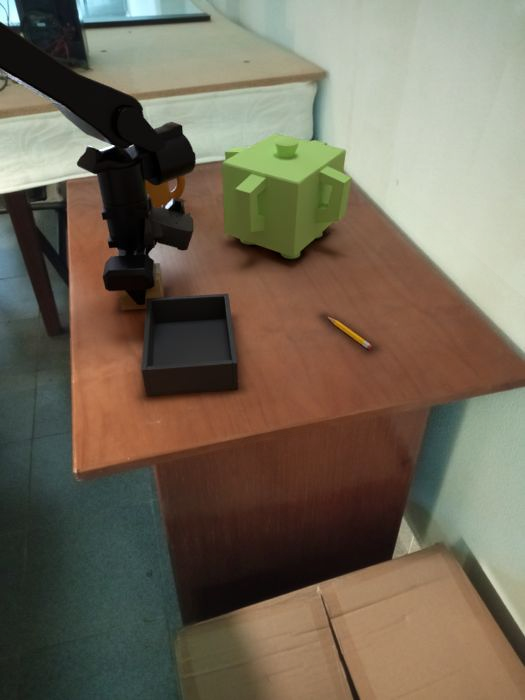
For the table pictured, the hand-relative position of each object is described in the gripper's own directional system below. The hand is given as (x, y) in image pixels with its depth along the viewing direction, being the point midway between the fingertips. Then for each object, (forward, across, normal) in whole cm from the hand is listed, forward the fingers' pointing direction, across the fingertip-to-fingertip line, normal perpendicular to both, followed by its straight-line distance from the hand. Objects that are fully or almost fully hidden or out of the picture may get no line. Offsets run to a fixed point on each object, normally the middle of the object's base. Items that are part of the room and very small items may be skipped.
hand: (142, 294), depth 74 cm
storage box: (+1, +17, -24) cm, 29 cm away
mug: (+1, +32, -1) cm, 32 cm away
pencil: (+1, -11, -29) cm, 31 cm away
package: (+1, 0, 0) cm, 1 cm away
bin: (+1, -13, -7) cm, 15 cm away
